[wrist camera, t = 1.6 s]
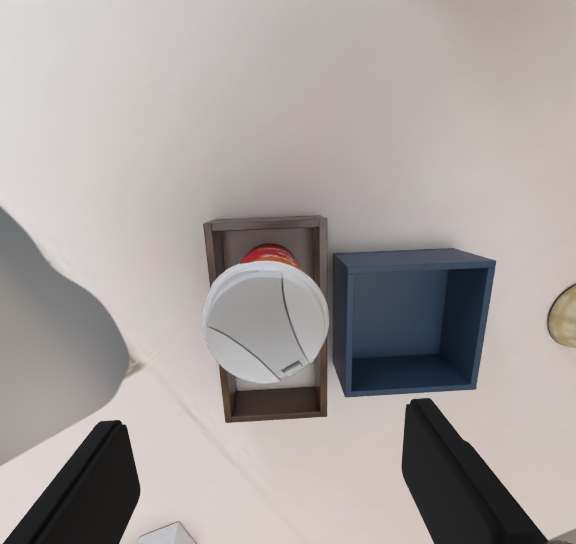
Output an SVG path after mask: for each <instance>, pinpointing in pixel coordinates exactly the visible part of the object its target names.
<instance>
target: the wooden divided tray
mask: <svg viewBox="0 0 576 544" xmlns="http://www.w3.org/2000/svg"><path fill="white" fill-rule="evenodd" d="M203 226H204V235H205V244H206V253H207V262H208V270H209V279H210V288H211V286H212V283H213V282H214V281H215V280H216V279H217V278H218V277H219V275H221V274H222V273H223V272H225V267H224V256H223V246H222V236H221V231H233V230H258V229H283V228H308V227H313V242H314V282H315V283H316V284H317V286H318V287H319V288H320V290H321V292H322V293H323V295H324V297H325V300H326V303H327V219H326V218H324V217H322V216H296V217H270V218H245V219H220V220H212V221H209V222H206V223H204V224H203ZM219 369H220V378H221V387H222V395H223V404H224V413H225V422H226V423H231V422H248V421H264V420H279V419H295V418H311V417H327V336H326V339H325V341H324V344H323V345H322V347H321V349H320V351H319V353H318V355H317V356H316V358H315V387H307V388H291V389H274V390H257V391H240V392H237V391H236V381H235V376H234V375H232V374H231V373H229V372H228V371H227V370H225V369H224V368H223V367H222V366H221V365H220V364H219Z"/></svg>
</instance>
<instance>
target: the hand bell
mask: <svg viewBox="0 0 576 544" xmlns="http://www.w3.org/2000/svg"><path fill="white" fill-rule="evenodd" d="M548 326H549V331H550V334H551V336H552V337H553V338H554V340H555V341H556V342H558V343H559V344H561V345H563V346H567V347H574V348H576V285H574V286H573V287H571V288H570V289H568V290H567V291H566V292H565V293H563V294H562V295H561V296H560V297H559V299H558V300H557V301H556V303H555V304H554V306H553V308H552V310H551V313H550V316H549V322H548Z"/></svg>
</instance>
